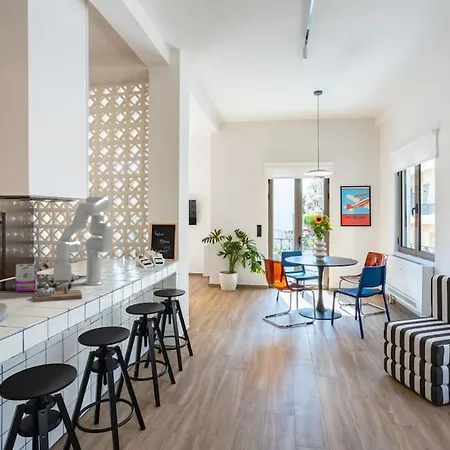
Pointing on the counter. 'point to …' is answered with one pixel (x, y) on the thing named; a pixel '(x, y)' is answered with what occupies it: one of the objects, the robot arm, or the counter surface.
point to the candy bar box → (26, 277)
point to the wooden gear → (61, 288)
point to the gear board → (56, 294)
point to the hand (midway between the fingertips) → (62, 290)
